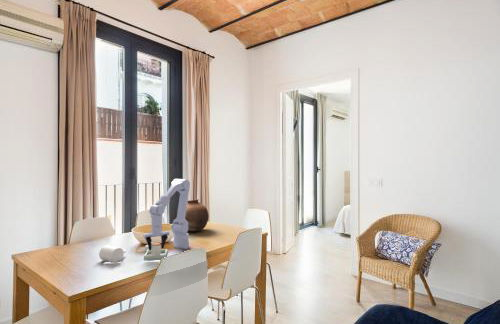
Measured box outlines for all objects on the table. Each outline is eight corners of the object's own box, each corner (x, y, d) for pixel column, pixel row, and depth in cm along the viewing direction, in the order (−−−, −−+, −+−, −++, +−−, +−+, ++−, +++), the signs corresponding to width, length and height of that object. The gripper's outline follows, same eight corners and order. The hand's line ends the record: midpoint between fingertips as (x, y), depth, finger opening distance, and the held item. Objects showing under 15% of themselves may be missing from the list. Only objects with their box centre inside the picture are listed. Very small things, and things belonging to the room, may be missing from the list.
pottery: (205, 234, 223) (206, 201, 223) (175, 234, 223) (176, 201, 223) (210, 227, 246) (210, 197, 245) (182, 227, 246) (183, 197, 246)
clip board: (161, 247, 188) (161, 241, 188) (159, 252, 178) (159, 246, 178) (138, 248, 186) (138, 242, 185) (135, 253, 176) (135, 246, 176)
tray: (167, 253, 178) (167, 249, 178) (165, 259, 166) (165, 255, 166) (147, 253, 176) (147, 249, 176) (143, 260, 164) (143, 256, 164)
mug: (111, 264, 157) (111, 250, 157) (98, 261, 161) (98, 247, 161) (129, 258, 168) (129, 244, 167) (117, 255, 172) (117, 241, 172)
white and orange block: (158, 254, 174) (158, 242, 174) (160, 255, 171) (160, 243, 170) (151, 255, 172) (151, 243, 172) (153, 257, 168) (153, 244, 168)
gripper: (166, 222, 178) (166, 245, 178) (141, 225, 170) (141, 249, 170) (170, 225, 172) (170, 248, 172) (145, 228, 164) (144, 252, 164)
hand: (156, 248), depth 171 cm, fingers open, 7 cm apart
